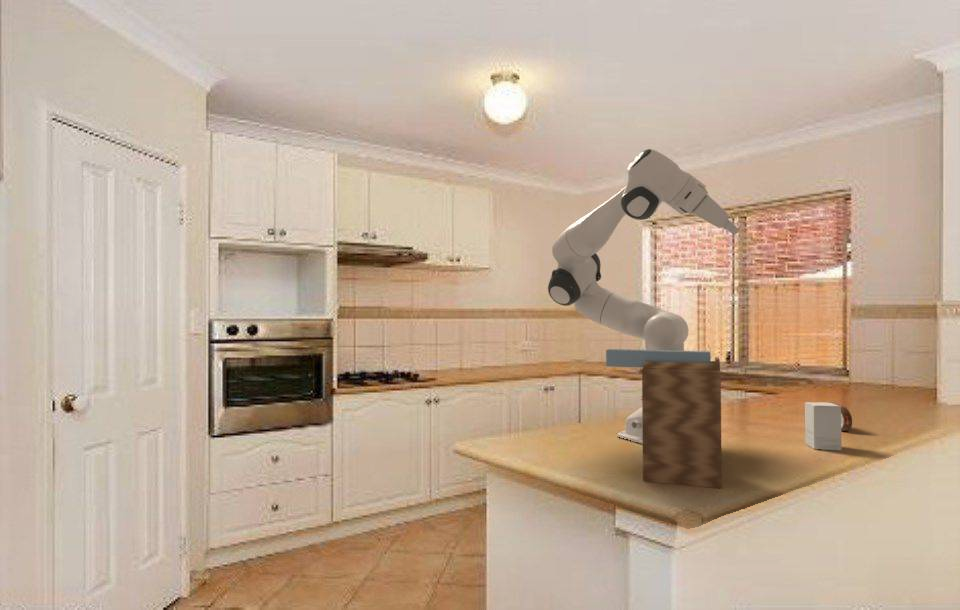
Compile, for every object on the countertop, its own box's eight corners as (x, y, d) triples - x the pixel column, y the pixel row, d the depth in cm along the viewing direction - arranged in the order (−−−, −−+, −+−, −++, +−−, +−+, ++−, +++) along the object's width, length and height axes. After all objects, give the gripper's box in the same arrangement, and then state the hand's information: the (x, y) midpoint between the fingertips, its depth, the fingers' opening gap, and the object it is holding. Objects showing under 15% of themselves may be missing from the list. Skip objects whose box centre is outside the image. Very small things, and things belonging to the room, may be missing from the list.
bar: (606, 366, 143) (606, 350, 143) (608, 364, 147) (608, 349, 147) (710, 369, 135) (710, 352, 135) (710, 367, 138) (710, 351, 138)
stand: (642, 480, 135) (642, 358, 135) (647, 465, 148) (646, 354, 148) (721, 488, 129) (720, 360, 129) (719, 472, 142) (718, 356, 142)
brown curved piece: (853, 433, 187) (853, 407, 187) (843, 433, 187) (843, 407, 187) (826, 424, 202) (825, 400, 202) (816, 424, 202) (816, 400, 202)
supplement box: (842, 450, 163) (841, 406, 163) (813, 449, 165) (813, 405, 165) (832, 445, 170) (831, 402, 171) (804, 444, 172) (804, 401, 172)
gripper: (674, 203, 155) (715, 234, 155) (685, 210, 135) (732, 245, 135) (690, 183, 153) (732, 215, 153) (704, 188, 133) (751, 224, 133)
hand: (732, 229), depth 144 cm, fingers open, 8 cm apart
